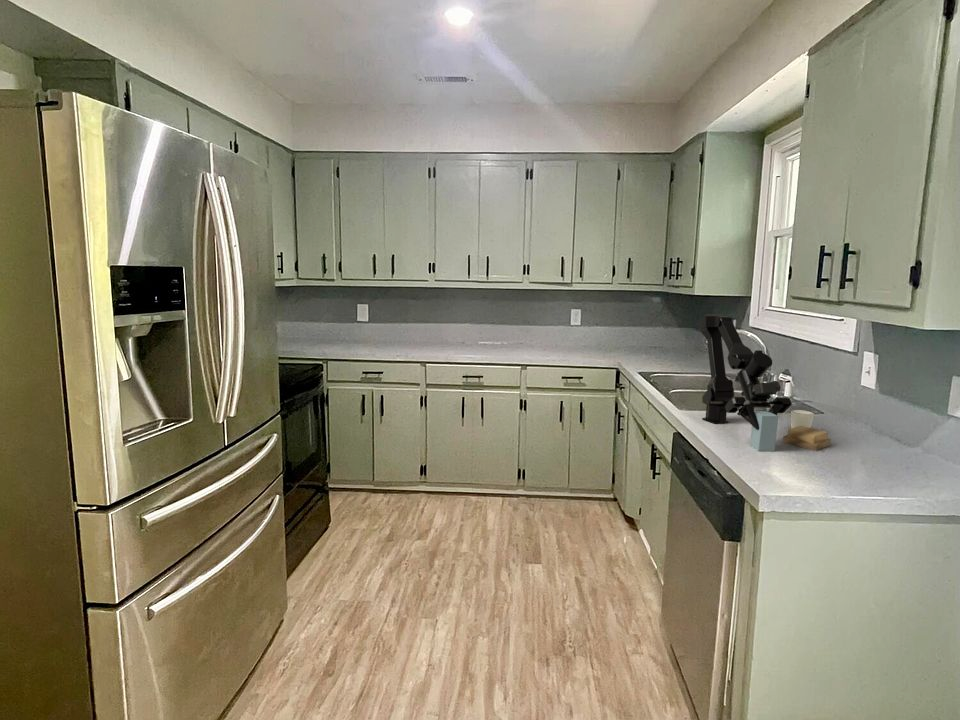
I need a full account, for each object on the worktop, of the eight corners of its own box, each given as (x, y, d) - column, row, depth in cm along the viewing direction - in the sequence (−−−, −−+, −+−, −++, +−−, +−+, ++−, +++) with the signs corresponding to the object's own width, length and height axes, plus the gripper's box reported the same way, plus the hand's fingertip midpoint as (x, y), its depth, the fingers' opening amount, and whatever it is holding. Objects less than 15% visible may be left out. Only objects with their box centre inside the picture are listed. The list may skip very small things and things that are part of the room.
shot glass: (804, 429, 197) (806, 409, 196) (816, 435, 190) (818, 414, 189) (784, 428, 197) (787, 409, 196) (796, 434, 190) (798, 414, 189)
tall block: (749, 446, 177) (753, 411, 175) (765, 446, 177) (769, 411, 176) (758, 451, 172) (762, 416, 170) (774, 451, 173) (778, 416, 171)
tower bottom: (782, 444, 182) (783, 436, 181) (796, 438, 188) (797, 431, 188) (815, 452, 174) (816, 444, 174) (829, 446, 180) (830, 439, 180)
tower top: (787, 436, 181) (788, 429, 181) (800, 433, 186) (801, 425, 185) (813, 443, 175) (814, 435, 174) (826, 439, 179) (827, 432, 179)
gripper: (733, 371, 174) (748, 415, 165) (792, 371, 175) (810, 416, 166) (718, 390, 183) (732, 433, 174) (774, 391, 184) (791, 434, 175)
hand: (766, 429), depth 172 cm, fingers closed on tall block, 5 cm apart
